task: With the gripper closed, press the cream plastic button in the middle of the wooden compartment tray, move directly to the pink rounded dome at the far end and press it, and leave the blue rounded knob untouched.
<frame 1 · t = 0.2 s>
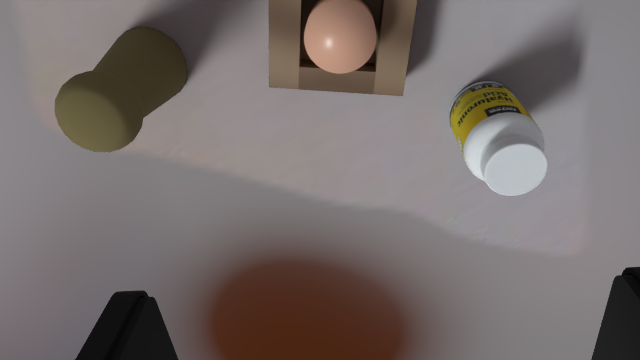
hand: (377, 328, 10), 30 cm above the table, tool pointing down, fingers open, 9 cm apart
supplement bottle: (480, 109, 40), on the table
olive game pawn: (150, 64, 39), on the table
pink rounded dome: (340, 32, 33), point 3 cm above the table, slide at 0.0 cm
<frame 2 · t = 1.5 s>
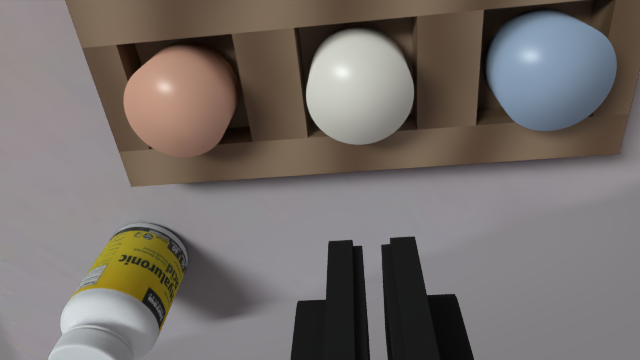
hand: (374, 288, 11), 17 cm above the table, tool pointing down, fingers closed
supplement bottle: (151, 249, 33), on the table
wooden compartment tray: (357, 62, 26), on the table
blue rounded knob: (544, 69, 22), point 3 cm above the table, slide at 0.0 cm
cream button: (358, 84, 23), point 4 cm above the table, slide at 0.0 cm
pink rounded dome: (184, 99, 24), point 3 cm above the table, slide at 0.0 cm
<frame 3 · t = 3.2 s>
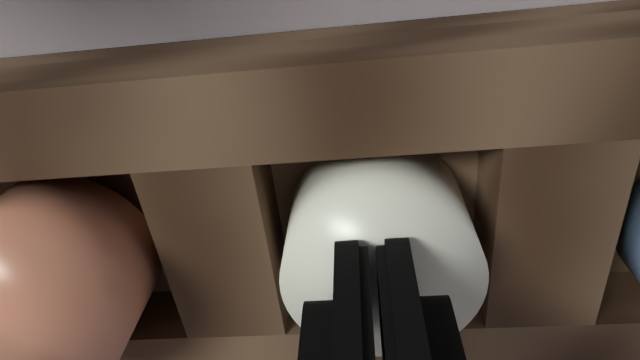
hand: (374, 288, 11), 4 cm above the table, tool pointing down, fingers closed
wooden compartment tray: (373, 191, 15), on the table
cream button: (378, 246, 12), point 3 cm above the table, slide at 0.8 cm, touching gripper
pink rounded dome: (52, 282, 13), point 3 cm above the table, slide at 0.0 cm
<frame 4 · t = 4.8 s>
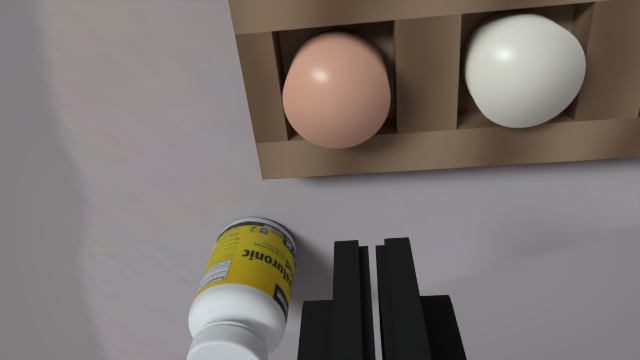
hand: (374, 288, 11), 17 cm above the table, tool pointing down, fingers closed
supplement bottle: (258, 244, 33), on the table
wooden compartment tray: (503, 51, 25), on the table
cream button: (518, 67, 23), point 3 cm above the table, slide at 0.9 cm
pink rounded dome: (337, 88, 23), point 4 cm above the table, slide at 0.0 cm
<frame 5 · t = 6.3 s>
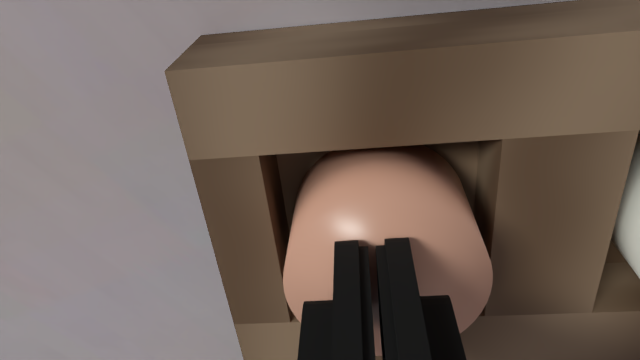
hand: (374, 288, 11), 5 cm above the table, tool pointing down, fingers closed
pink rounded dome: (382, 245, 12), point 3 cm above the table, slide at 0.4 cm, touching gripper
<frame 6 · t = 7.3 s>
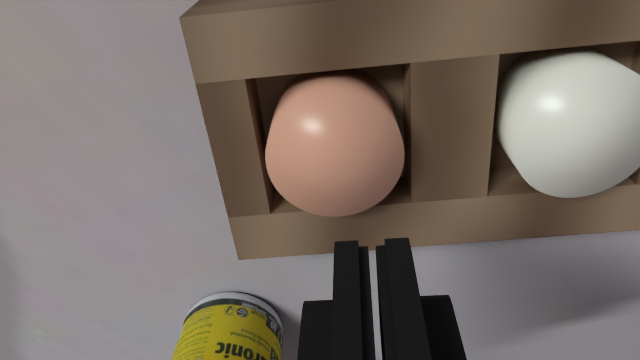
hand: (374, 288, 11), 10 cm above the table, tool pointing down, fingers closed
supplement bottle: (235, 321, 27), on the table
wooden compartment tray: (540, 93, 20), on the table
cream button: (567, 119, 17), point 3 cm above the table, slide at 0.9 cm
pink rounded dome: (333, 140, 18), point 3 cm above the table, slide at 0.9 cm
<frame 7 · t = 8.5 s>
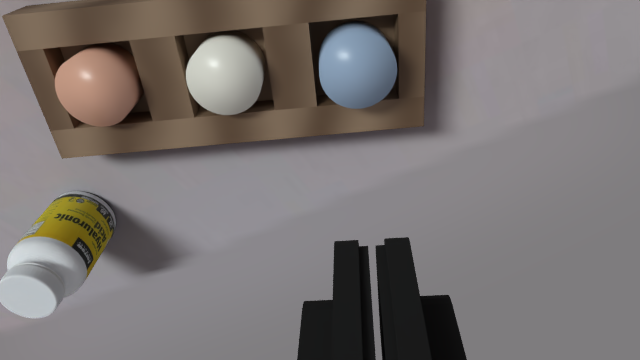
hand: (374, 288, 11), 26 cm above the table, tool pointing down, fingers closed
supplement bottle: (86, 214, 41), on the table
wooden compartment tray: (233, 60, 34), on the table
blue rounded knob: (356, 64, 31), point 3 cm above the table, slide at 0.0 cm
cream button: (227, 72, 32), point 3 cm above the table, slide at 0.9 cm
pink rounded dome: (102, 84, 32), point 3 cm above the table, slide at 0.9 cm
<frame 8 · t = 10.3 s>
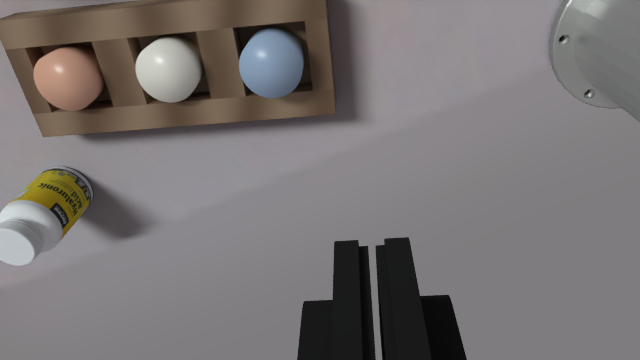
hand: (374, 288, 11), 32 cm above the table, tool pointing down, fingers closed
supplement bottle: (68, 186, 49), on the table
wooden compartment tray: (181, 58, 41), on the table
blue rounded knob: (273, 62, 38), point 3 cm above the table, slide at 0.0 cm
cream button: (171, 68, 39), point 3 cm above the table, slide at 0.9 cm
pink rounded dome: (72, 76, 40), point 3 cm above the table, slide at 0.9 cm
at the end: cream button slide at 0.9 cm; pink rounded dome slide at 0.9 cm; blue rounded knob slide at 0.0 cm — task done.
